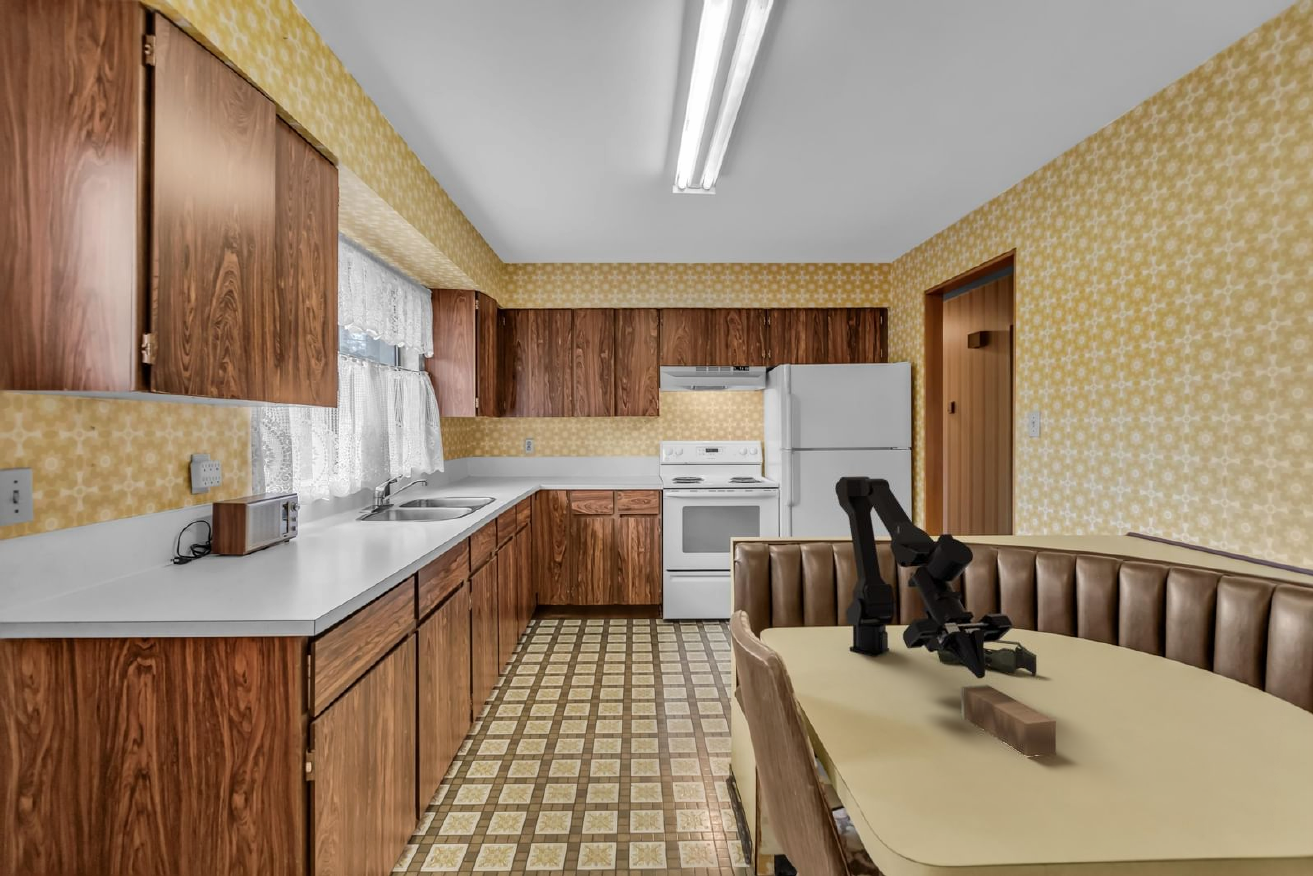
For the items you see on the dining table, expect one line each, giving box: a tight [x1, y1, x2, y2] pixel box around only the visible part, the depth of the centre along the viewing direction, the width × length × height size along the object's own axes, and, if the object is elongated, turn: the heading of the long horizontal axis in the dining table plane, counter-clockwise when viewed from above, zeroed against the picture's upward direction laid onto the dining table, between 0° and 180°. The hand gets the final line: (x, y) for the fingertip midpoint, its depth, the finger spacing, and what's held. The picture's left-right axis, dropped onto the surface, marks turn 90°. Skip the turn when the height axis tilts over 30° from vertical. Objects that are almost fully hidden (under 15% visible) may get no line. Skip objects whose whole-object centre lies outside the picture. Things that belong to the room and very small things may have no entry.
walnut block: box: [960, 684, 1057, 756], centre depth 98 cm, size 5×5×14 cm
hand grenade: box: [936, 639, 1038, 677], centre depth 127 cm, size 6×5×18 cm
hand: (981, 677), depth 103 cm, fingers closed
